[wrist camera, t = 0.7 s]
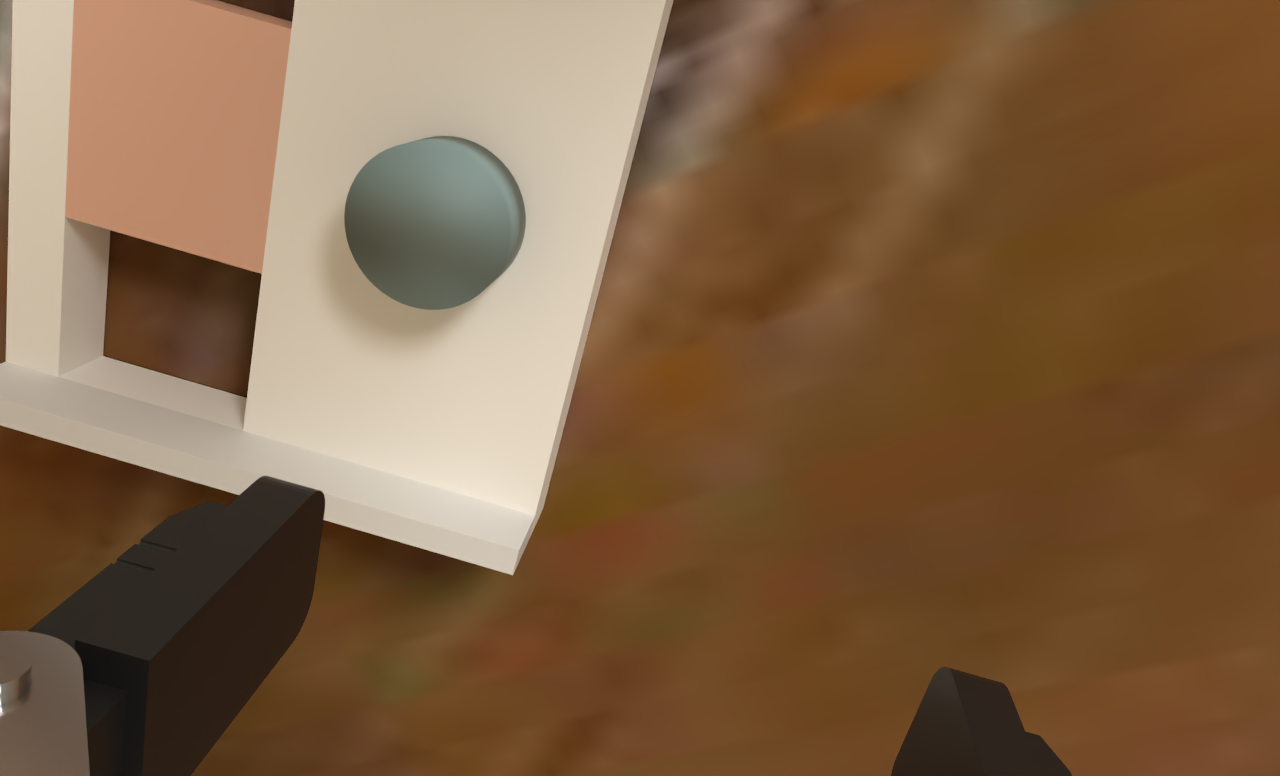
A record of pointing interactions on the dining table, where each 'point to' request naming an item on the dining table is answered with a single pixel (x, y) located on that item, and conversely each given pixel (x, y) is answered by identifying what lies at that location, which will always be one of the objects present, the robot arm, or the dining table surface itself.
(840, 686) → the dining table surface
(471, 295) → the puck
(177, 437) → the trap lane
